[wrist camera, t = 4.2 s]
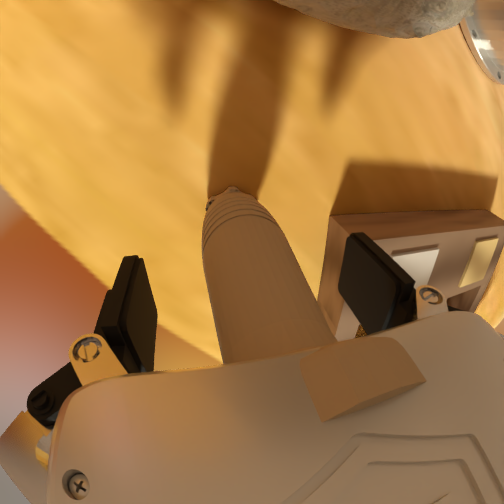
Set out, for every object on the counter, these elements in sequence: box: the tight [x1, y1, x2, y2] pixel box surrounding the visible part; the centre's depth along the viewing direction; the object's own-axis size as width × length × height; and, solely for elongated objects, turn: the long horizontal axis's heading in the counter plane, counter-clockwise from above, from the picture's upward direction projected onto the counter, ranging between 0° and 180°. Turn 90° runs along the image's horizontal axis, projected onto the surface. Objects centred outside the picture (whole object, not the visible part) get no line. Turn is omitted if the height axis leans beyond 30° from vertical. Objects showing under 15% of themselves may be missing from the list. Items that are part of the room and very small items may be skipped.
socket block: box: [317, 210, 504, 342], centre depth 24 cm, size 18×22×4 cm
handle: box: [202, 186, 427, 422], centre depth 11 cm, size 5×6×15 cm
